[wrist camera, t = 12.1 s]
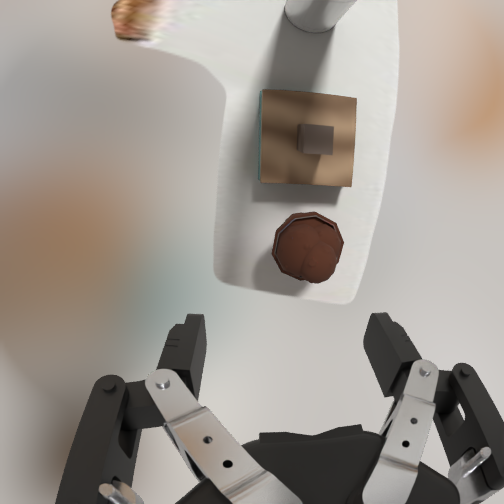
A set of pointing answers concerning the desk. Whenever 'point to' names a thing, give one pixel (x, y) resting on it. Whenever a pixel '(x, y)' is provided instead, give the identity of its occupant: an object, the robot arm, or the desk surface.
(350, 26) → the desk surface
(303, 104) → the walnut cover
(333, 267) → the ice cream bowl
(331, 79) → the desk surface
